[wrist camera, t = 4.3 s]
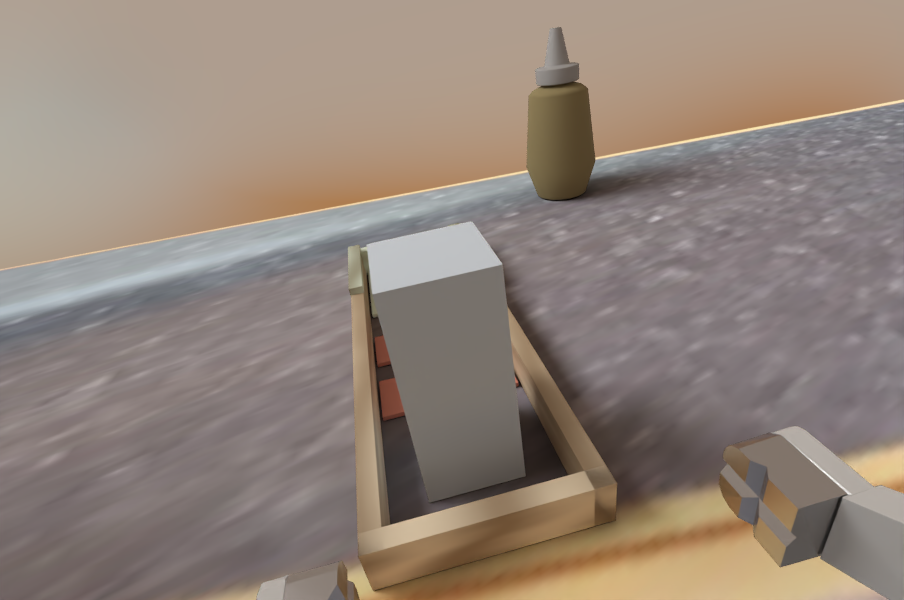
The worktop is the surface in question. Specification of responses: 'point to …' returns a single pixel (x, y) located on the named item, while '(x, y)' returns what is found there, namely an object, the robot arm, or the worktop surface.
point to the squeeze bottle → (559, 126)
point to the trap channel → (480, 522)
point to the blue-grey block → (450, 355)
